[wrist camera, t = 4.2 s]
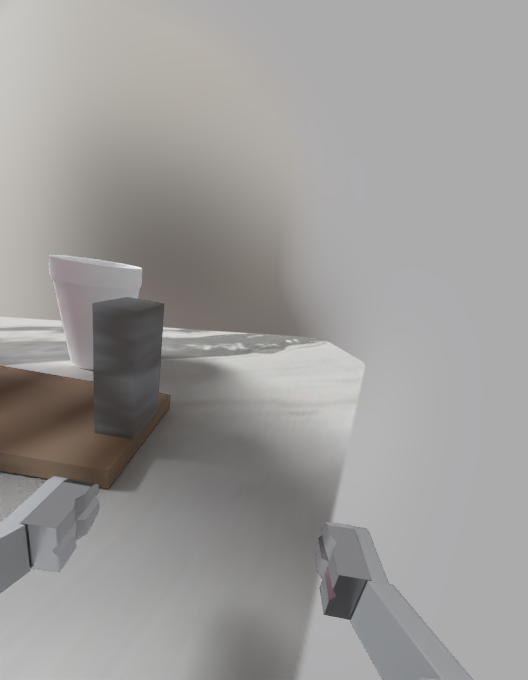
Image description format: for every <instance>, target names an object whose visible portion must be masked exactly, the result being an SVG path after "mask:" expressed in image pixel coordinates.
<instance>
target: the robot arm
mask: <svg viewBox="0 0 528 680" xmlns="http://www.w3.org/2000/svg"><path fill="white" fill-rule="evenodd" d="M98 493H99V485H98V484H93V483H88V482H83V481H78V480H73V479H68V478H63V477H57V476H53V477H51V478H49V479H48V480H47V481H46V482H44V483H43V484H42V485H41V486H40V487H39V488H38V489H37V490H36V491H35V492H34V493H33V494H31V495H30V496H29V497H28V498H27V499H26V500H25V501H24V502H23V503H22V504H21V505H19V506H18V507H17V508H16V509H15V510H14V511H13V512H12V513H11V514H10V515H9V516H8V517H6V518H5V519H4V520H3V521H0V593H1V592H3V591H4V590H5V589H7V588H8V587H9V586H11V585H12V584H13V583H15V582H16V581H17V580H19V579H20V578H21V577H23V576H24V575H25V574H27V573H28V572H29V571H30V569H37V570H45V571H54V572H60V570H61V569H62V568H63V566H64V565H65V563H66V562H67V561H68V559H69V558H70V556H71V555H72V554H73V552H74V551H75V549H76V543H77V540H78V539H79V538H81V537H82V536H84V535H85V534H87V532H88V531H89V529H90V528H91V526H92V525H93V523H94V521H95V519H96V517H97V515H98V511H99V501H98V499H97V498H96V495H97V494H98ZM321 531H322V536H321V537H319V538H318V541H317V544H316V554H315V555H316V566H317V572H318V573H319V575H320V576H321V578H322V583H321V585H320V593H321V599H322V605H323V611H324V615H329V616H334V617H339V618H344V619H349V620H351V621H350V622H351V624H352V626H353V628H354V629H355V631H356V633H357V635H358V637H359V638H360V640H361V642H362V644H363V646H364V647H365V649H366V651H367V653H368V655H369V656H370V658H371V660H372V662H373V664H374V665H375V667H376V669H377V671H378V672H379V674H380V676H381V678H382V679H383V680H473V679H472V678H471V677H470V675H469V674H468V673H467V672H466V671H465V670H464V668H463V667H462V666H461V665H460V664H459V662H458V661H457V660H456V659H455V658H454V656H452V654H451V653H450V652H449V651H448V649H447V648H446V647H445V646H444V645H443V643H442V642H441V641H440V640H439V639H438V637H437V636H436V635H435V634H434V633H433V631H432V630H431V629H430V628H429V627H428V626H427V624H426V623H425V622H424V621H423V620H422V618H421V617H420V616H419V615H418V614H417V612H416V611H415V610H414V609H413V608H412V607H411V605H410V604H409V603H408V602H407V601H406V599H405V598H404V597H403V596H402V595H401V593H399V591H398V590H397V589H396V588H395V586H394V585H391V584H389V583H388V580H387V578H386V575H385V573H384V570H383V567H382V565H381V562H380V559H379V557H378V554H377V552H376V549H375V547H374V544H373V541H372V538H371V536H370V533H369V531H368V530H367V529H366V528H360V527H354V526H350V525H344V524H337V523H330V522H324V523H323V525H322V528H321Z"/></svg>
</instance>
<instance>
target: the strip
mask: <svg viewBox="0 0 528 680" xmlns="http://www.w3.org/2000/svg"><path fill="white" fill-rule="evenodd" d="M92 310H93V371H94V382H92V381H86V380H80V379H75V378H69V377H63V376H57V375H51V374H46V373H40V372H34V371H28V370H22V369H17V368H11V367H5V366H0V471H3V472H10V473H16V474H22V475H28V476H34V477H40V478H46V479H49V478H51V477H53V476H57V477H63V478H68V479H73V480H78V481H83V482H88V483H93V484H98V485H99V487H101V488H107V489H109V487H110V486H111V485H112V483H113V482H114V481H115V479H116V478H117V477H118V475H119V474H120V473H121V471H122V470H123V469H124V467H125V466H126V465H127V463H128V462H129V461H130V459H131V458H132V457H133V455H134V454H135V453H136V451H137V450H138V449H139V447H140V446H141V445H142V443H143V442H144V441H145V439H146V438H147V437H148V435H149V434H150V433H151V431H152V430H153V429H154V427H155V426H156V425H157V423H158V422H159V421H160V419H161V418H162V417H163V415H164V414H165V413H166V411H167V410H168V409H169V406H170V395H167V394H162V393H159V378H160V362H161V346H162V331H163V315H164V303H158V302H152V301H146V300H141V299H136V298H130V297H124V298H119V299H113V300H107V301H102V302H96V303H92Z"/></svg>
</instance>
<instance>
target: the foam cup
mask: <svg viewBox="0 0 528 680" xmlns="http://www.w3.org/2000/svg"><path fill="white" fill-rule="evenodd" d="M48 259H49V275H50V277H51V278H52V279H53V284H54V288H55V293H56V297H57V302H58V306H59V310H60V315H61V320H62V325H63V329H64V334H65V338H66V343H67V347H68V352H69V356H70V358H71V363H72V364H73V366H76V367H78V368H81V369H90V370H93V310H92V303H96V302H102V301H107V300H113V299H119V298H124V297H130V298H136V299H138V293H139V288H140V287H141V286H142V285H141V284H142V268H140V267H137V266H132V265H127V264H122V263H116V262H110V261H104V260H97V259H89V258H81V257H73V256H63V255H48Z"/></svg>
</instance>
